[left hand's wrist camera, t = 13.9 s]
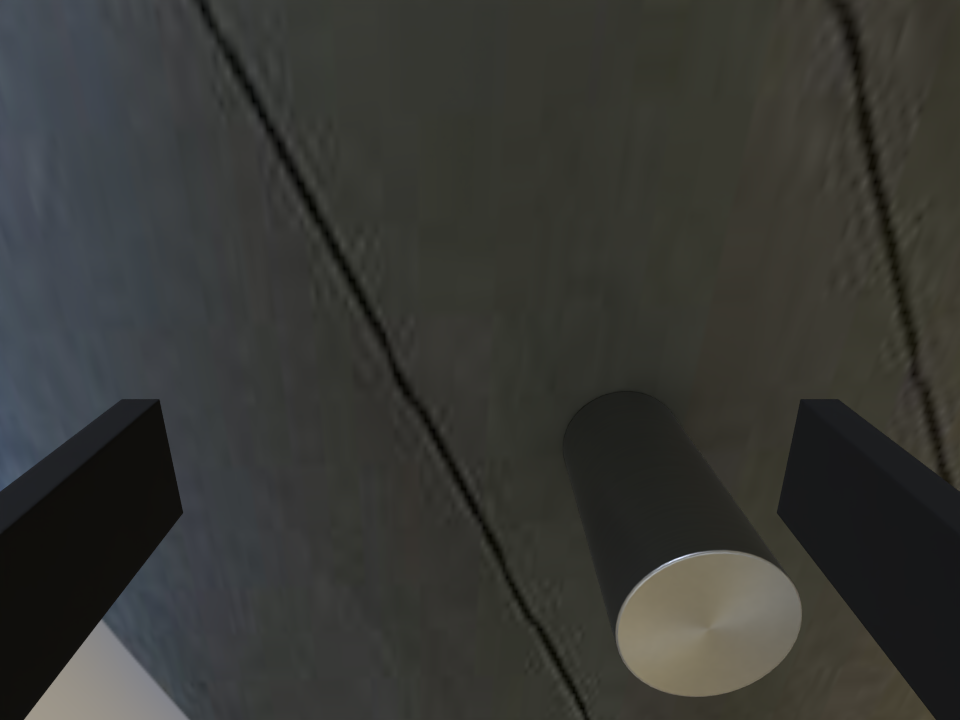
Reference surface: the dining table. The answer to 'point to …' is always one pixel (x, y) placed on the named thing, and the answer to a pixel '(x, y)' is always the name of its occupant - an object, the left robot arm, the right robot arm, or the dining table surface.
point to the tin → (675, 553)
